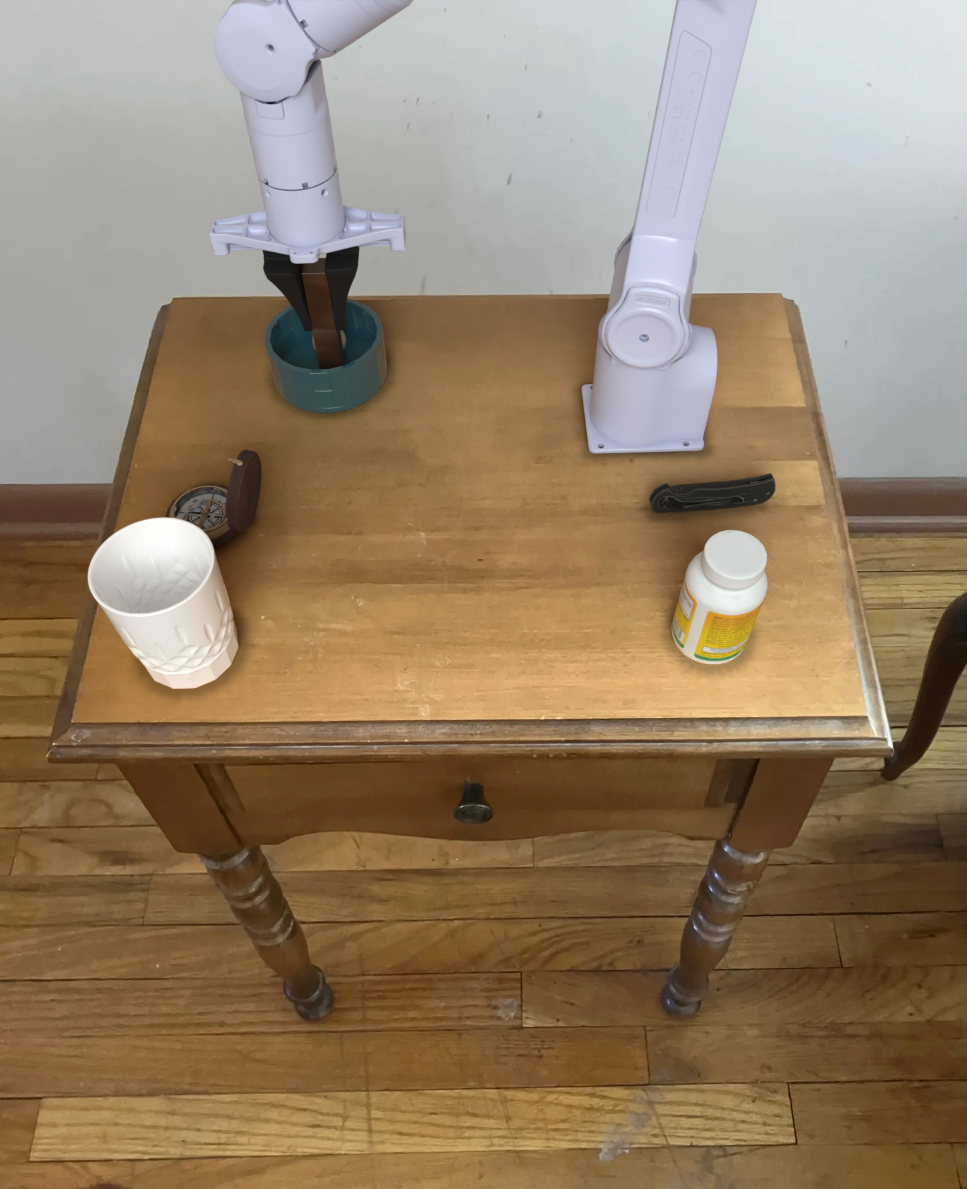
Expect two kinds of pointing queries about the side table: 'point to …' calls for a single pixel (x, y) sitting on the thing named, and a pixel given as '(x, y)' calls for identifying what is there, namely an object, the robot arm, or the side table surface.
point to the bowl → (327, 387)
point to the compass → (223, 501)
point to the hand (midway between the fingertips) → (325, 323)
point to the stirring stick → (322, 315)
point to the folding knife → (712, 495)
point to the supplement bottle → (720, 598)
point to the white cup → (167, 600)
